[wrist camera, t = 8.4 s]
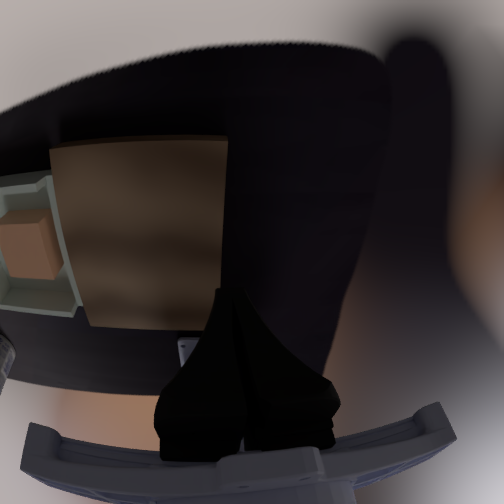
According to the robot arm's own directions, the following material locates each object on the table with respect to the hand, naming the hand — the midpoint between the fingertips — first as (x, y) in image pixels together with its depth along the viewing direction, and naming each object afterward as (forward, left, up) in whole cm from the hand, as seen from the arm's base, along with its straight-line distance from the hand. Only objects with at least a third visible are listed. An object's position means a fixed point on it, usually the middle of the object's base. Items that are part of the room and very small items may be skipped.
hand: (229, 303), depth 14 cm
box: (-2, +17, -9) cm, 20 cm away
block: (-2, +16, -9) cm, 18 cm away
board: (-2, +6, -9) cm, 11 cm away
